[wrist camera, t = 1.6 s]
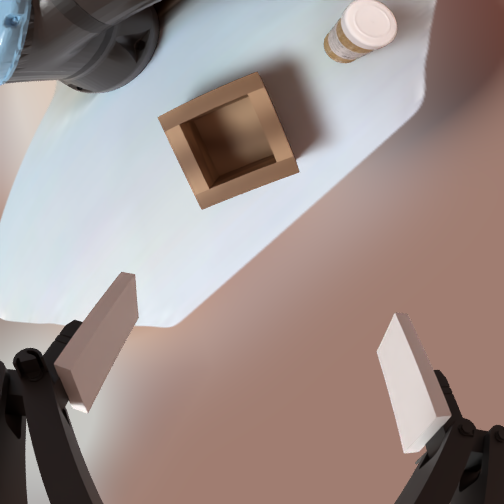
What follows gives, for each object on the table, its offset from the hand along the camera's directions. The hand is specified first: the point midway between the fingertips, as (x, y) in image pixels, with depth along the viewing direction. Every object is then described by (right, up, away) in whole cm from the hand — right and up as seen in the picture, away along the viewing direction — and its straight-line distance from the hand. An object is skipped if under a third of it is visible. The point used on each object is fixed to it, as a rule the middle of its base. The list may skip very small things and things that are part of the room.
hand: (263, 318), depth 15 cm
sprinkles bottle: (+10, +27, +16) cm, 33 cm away
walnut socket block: (-2, +17, +21) cm, 28 cm away
